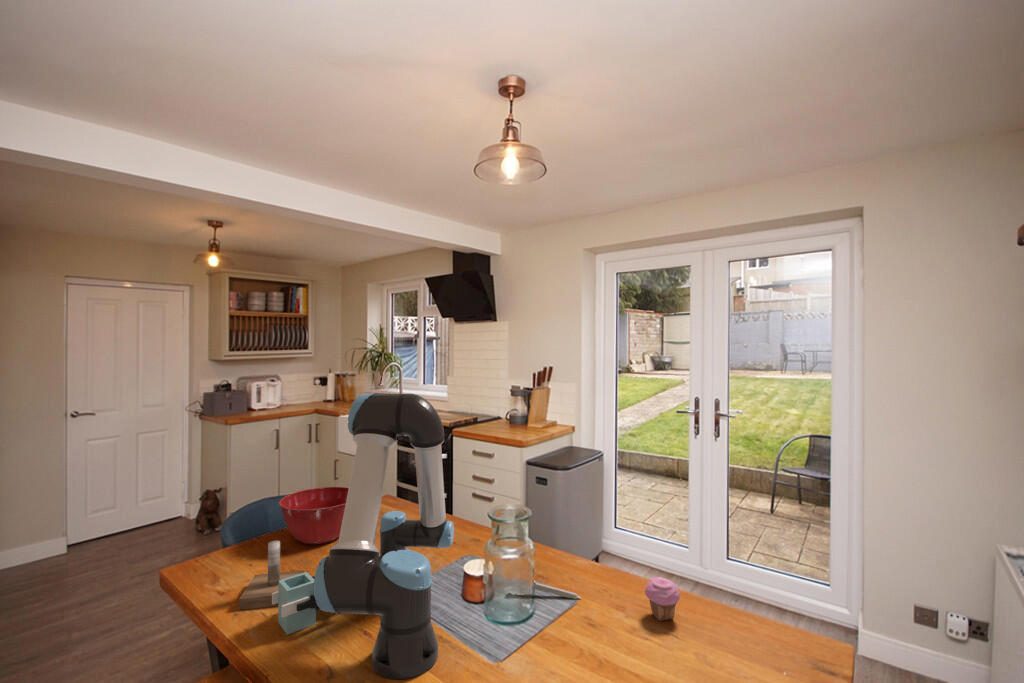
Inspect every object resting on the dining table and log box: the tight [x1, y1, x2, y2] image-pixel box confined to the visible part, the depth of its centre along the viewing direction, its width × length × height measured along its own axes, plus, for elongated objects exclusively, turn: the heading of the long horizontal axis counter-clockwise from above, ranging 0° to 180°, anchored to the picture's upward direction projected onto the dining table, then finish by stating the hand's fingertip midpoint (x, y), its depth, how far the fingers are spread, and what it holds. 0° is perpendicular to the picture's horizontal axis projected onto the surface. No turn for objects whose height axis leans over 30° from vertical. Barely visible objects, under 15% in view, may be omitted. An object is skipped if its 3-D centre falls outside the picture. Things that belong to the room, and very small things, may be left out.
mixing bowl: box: [278, 486, 349, 545], centre depth 181 cm, size 28×28×16 cm
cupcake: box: [644, 576, 681, 622], centre depth 129 cm, size 9×9×10 cm
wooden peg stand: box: [238, 540, 305, 611], centre depth 139 cm, size 14×14×15 cm
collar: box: [277, 571, 317, 635], centre depth 125 cm, size 7×7×11 cm
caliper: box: [534, 580, 582, 600], centre depth 139 cm, size 20×1×6 cm, turn 81°
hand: (277, 605), depth 122 cm, fingers closed on collar, 7 cm apart
